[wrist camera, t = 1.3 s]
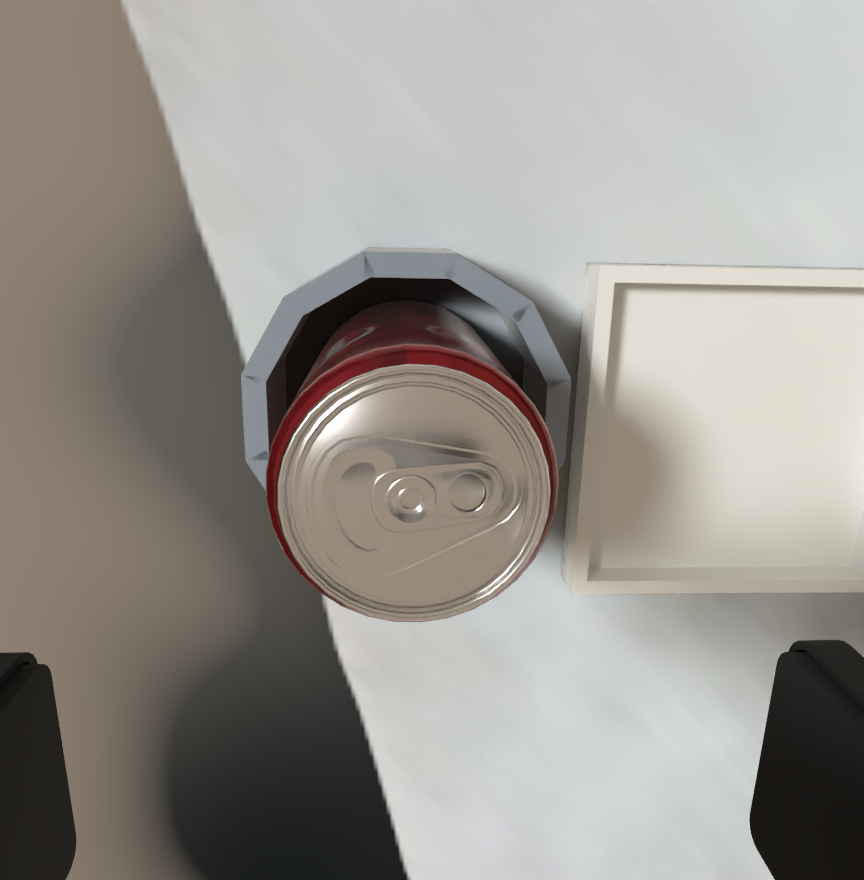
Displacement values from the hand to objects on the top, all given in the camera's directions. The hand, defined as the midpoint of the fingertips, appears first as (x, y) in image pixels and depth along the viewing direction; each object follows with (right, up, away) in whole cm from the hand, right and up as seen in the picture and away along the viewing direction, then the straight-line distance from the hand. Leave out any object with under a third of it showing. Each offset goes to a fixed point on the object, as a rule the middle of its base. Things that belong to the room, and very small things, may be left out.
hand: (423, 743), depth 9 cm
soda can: (-1, +6, +20) cm, 21 cm away
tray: (+12, +4, +21) cm, 24 cm away
